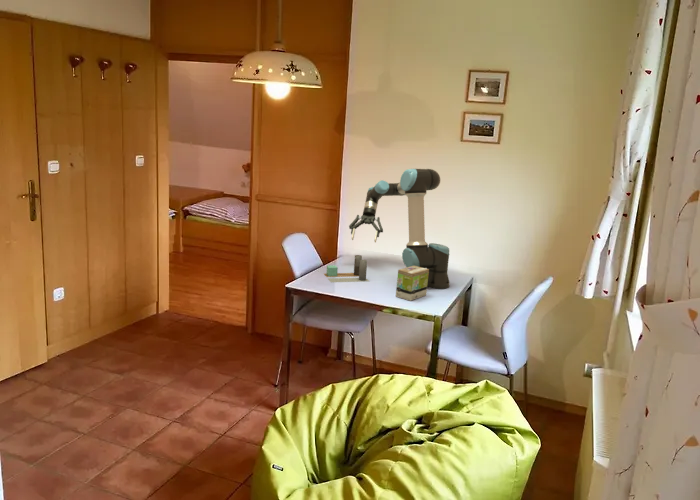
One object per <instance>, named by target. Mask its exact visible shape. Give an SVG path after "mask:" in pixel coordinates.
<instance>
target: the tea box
mask: <svg viewBox="0 0 700 500" xmlns="http://www.w3.org/2000/svg"><path fill="white" fill-rule="evenodd" d="M428 275H429V269H427V268H422V267H418V266H410V267H405V268H404V267H403V268H399V269H398V270H397V278H396V280H397V281H396V287H395V289H396V290H395V297H396V298H400V299H403V300H407V301H410V302H412V301H413V300H416V299H419V298H422V297H425V296H427V292H428V287H427V284H428Z"/></svg>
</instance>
